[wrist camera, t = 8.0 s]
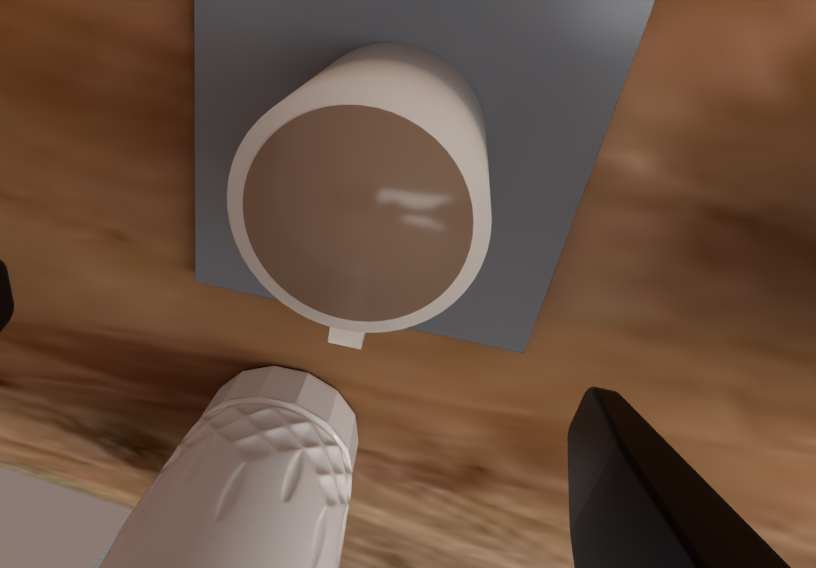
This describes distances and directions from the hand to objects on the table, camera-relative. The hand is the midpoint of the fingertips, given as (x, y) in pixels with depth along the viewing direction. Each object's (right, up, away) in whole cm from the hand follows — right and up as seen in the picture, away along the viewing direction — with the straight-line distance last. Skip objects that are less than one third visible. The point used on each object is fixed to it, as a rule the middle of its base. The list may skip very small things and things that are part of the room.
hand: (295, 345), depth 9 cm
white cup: (-4, -5, +18) cm, 19 cm away
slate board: (+1, +6, +10) cm, 12 cm away
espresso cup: (+1, +6, +10) cm, 11 cm away
